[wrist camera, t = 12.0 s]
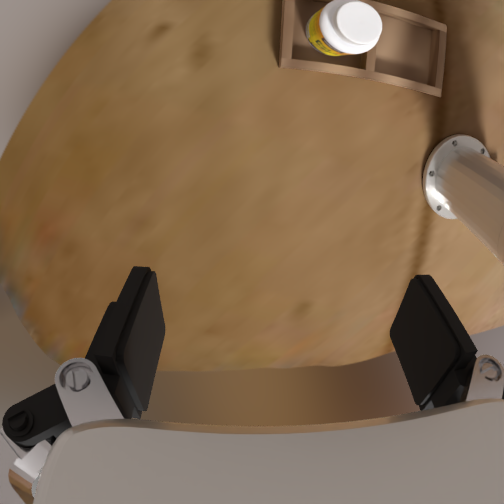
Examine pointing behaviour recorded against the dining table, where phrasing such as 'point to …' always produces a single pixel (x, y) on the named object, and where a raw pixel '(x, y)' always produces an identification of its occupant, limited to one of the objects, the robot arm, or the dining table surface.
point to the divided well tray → (380, 56)
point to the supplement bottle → (344, 28)
